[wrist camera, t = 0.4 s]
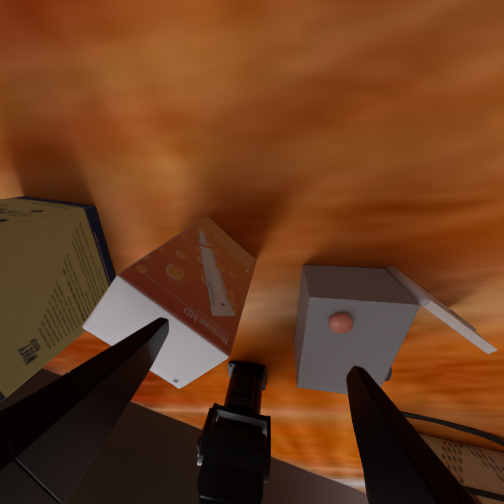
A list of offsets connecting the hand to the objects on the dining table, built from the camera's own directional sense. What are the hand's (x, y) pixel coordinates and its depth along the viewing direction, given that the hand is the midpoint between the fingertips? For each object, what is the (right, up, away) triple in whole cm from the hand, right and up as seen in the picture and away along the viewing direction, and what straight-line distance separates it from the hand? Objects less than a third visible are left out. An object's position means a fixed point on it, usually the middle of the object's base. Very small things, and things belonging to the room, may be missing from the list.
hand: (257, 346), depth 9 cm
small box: (-4, +4, +14) cm, 16 cm away
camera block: (+10, -4, +16) cm, 19 cm away
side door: (+19, 0, +12) cm, 23 cm away
